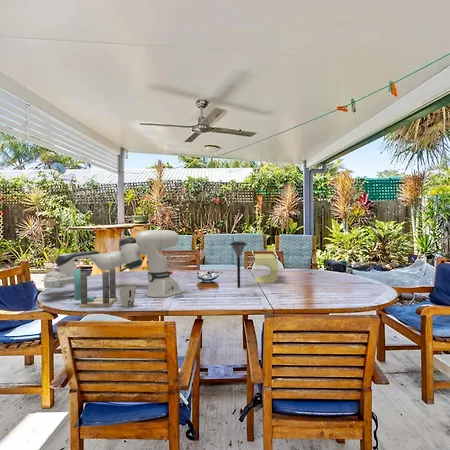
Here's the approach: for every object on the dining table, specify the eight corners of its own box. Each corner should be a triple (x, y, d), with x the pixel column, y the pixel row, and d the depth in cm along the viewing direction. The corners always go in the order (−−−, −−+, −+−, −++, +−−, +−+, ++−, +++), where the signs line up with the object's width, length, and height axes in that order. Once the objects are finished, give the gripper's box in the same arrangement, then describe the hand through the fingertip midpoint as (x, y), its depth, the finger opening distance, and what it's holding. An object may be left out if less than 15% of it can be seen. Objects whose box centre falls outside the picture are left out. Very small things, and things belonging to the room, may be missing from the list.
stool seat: (89, 300, 196) (88, 268, 195) (117, 300, 196) (116, 268, 195) (78, 307, 180) (77, 273, 180) (108, 307, 180) (107, 272, 180)
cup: (129, 308, 177) (129, 289, 177) (116, 307, 180) (116, 288, 180) (138, 305, 184) (138, 286, 184) (126, 303, 187) (126, 285, 187)
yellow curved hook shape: (278, 284, 237) (278, 258, 237) (255, 284, 238) (254, 258, 238) (275, 277, 267) (275, 254, 267) (255, 277, 268) (254, 254, 268)
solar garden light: (245, 289, 221) (244, 242, 220) (227, 288, 225) (226, 242, 224) (250, 286, 232) (249, 241, 232) (232, 285, 236) (232, 241, 236)
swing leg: (95, 299, 187) (94, 270, 186) (91, 301, 184) (90, 270, 183) (77, 298, 189) (76, 269, 189) (73, 300, 186) (72, 270, 186)
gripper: (77, 283, 212) (87, 286, 202) (41, 288, 198) (50, 291, 188) (77, 272, 212) (87, 275, 202) (41, 277, 197) (50, 279, 188)
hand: (69, 283), depth 195 cm, fingers open, 8 cm apart
